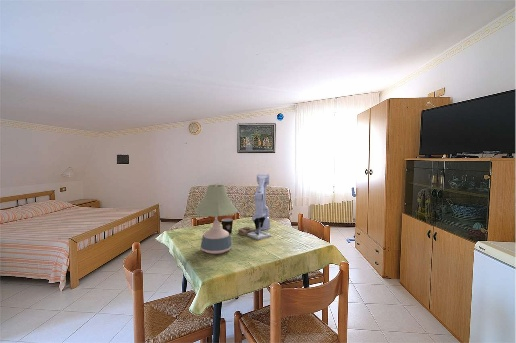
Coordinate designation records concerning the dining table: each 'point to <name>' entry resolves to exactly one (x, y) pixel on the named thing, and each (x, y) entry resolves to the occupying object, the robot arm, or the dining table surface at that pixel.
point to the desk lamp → (216, 219)
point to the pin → (258, 229)
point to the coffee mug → (227, 225)
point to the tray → (260, 236)
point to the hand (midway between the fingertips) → (259, 227)
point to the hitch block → (245, 231)
